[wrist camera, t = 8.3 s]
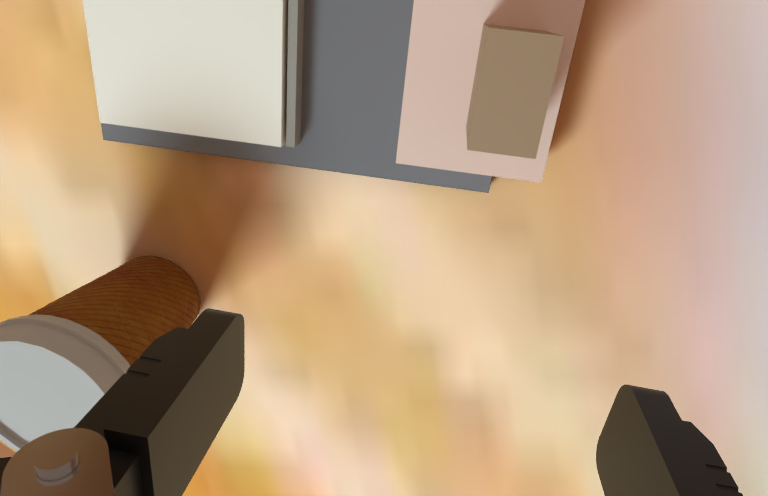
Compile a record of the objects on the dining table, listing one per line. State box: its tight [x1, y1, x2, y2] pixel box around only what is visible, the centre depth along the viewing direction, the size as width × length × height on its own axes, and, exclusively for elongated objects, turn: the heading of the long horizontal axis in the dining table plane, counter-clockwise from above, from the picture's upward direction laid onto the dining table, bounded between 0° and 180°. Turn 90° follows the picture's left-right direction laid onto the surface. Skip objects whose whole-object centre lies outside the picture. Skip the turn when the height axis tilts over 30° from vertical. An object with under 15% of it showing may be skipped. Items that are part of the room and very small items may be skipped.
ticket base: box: [83, 0, 492, 193], centre depth 28 cm, size 24×13×2 cm, turn 85°
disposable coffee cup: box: [0, 256, 200, 451], centre depth 33 cm, size 10×10×12 cm
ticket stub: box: [396, 0, 585, 183], centre depth 25 cm, size 8×10×6 cm
